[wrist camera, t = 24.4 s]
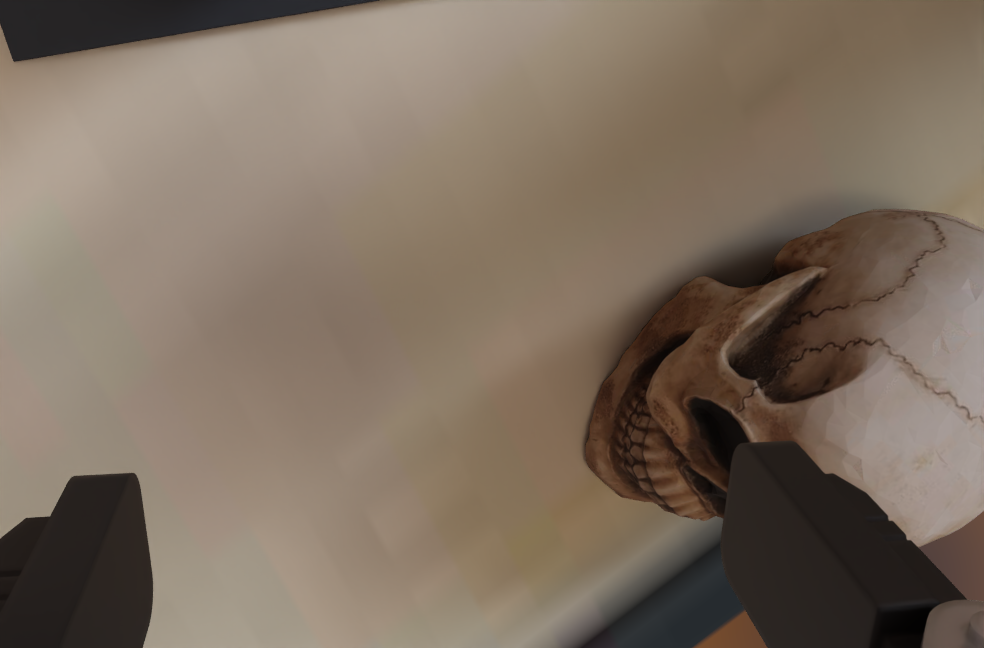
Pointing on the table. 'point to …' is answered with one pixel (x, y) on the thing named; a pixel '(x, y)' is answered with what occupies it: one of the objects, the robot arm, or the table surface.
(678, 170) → the table surface
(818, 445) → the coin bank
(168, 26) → the mat
